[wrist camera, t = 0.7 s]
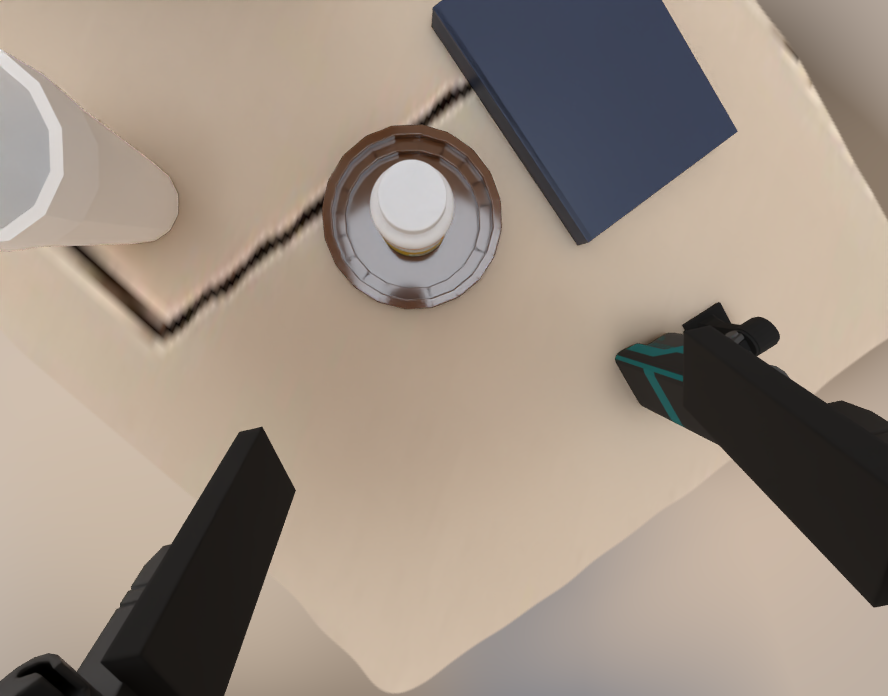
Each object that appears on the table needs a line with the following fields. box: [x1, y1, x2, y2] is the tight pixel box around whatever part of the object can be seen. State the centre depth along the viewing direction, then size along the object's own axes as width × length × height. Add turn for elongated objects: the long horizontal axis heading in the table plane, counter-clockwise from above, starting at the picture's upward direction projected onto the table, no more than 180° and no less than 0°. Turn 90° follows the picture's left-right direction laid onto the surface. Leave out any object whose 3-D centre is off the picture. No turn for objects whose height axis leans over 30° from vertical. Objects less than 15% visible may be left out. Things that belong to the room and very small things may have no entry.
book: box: [432, 0, 737, 245], centre depth 33 cm, size 20×14×2 cm
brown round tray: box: [322, 125, 502, 309], centre depth 34 cm, size 13×13×2 cm
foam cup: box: [0, 49, 178, 252], centre depth 27 cm, size 10×9×13 cm
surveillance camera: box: [615, 302, 789, 445], centre depth 31 cm, size 6×12×10 cm
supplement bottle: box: [370, 160, 454, 256], centre depth 29 cm, size 5×5×10 cm
